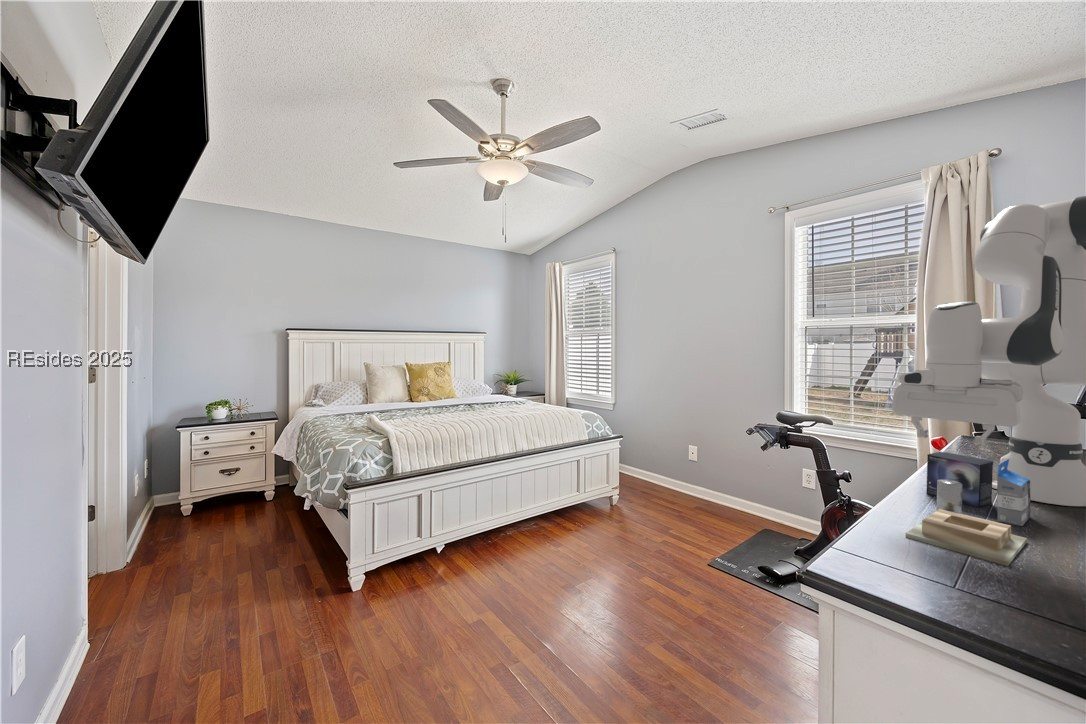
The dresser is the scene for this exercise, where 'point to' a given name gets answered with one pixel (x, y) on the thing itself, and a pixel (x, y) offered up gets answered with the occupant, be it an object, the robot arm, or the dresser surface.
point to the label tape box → (1012, 496)
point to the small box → (962, 476)
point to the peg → (949, 496)
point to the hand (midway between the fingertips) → (950, 441)
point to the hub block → (969, 536)
